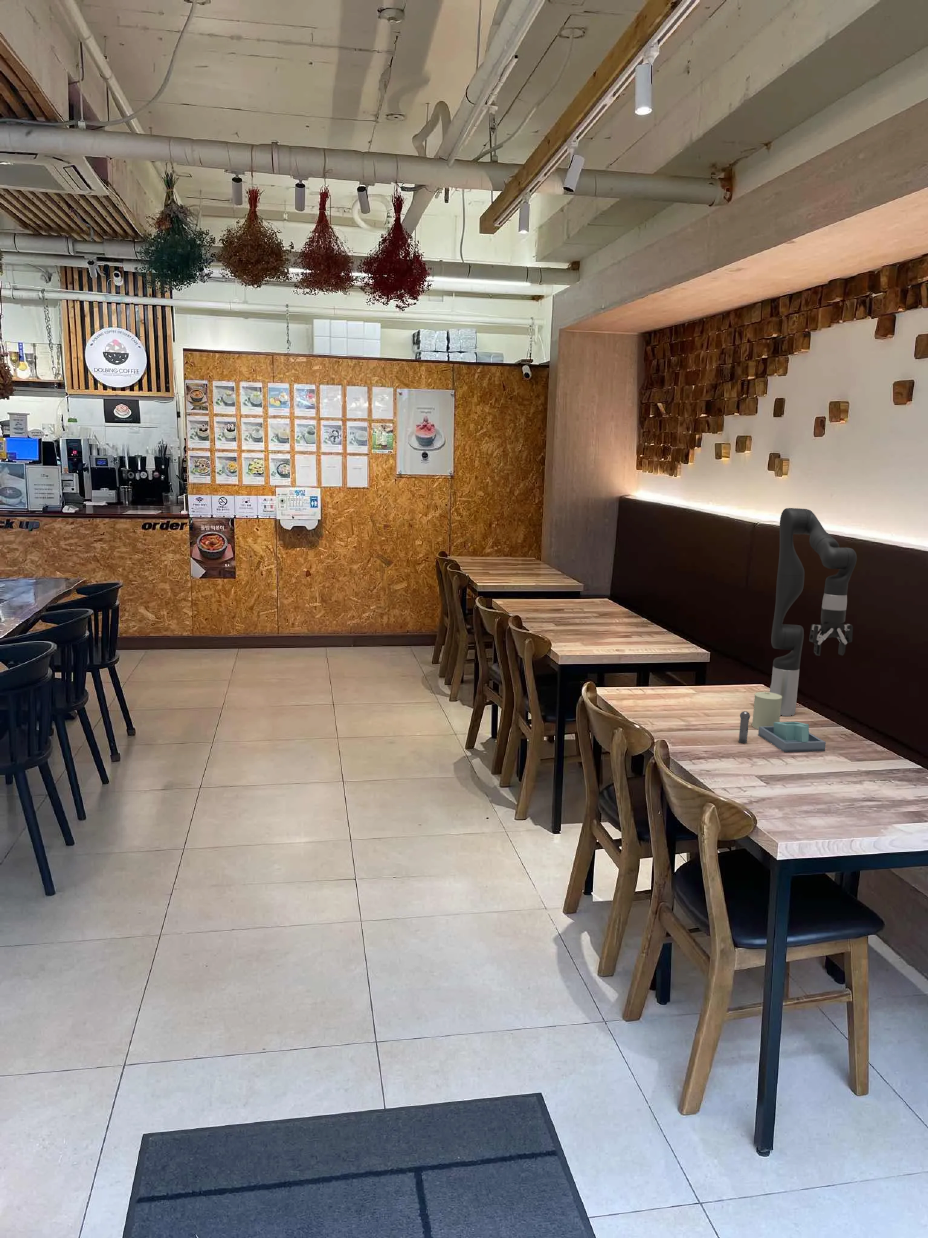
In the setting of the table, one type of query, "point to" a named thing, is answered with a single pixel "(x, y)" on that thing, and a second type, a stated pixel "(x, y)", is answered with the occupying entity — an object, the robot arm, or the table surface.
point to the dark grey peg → (744, 726)
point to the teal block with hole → (792, 731)
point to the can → (766, 709)
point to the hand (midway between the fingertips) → (829, 654)
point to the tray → (791, 741)
